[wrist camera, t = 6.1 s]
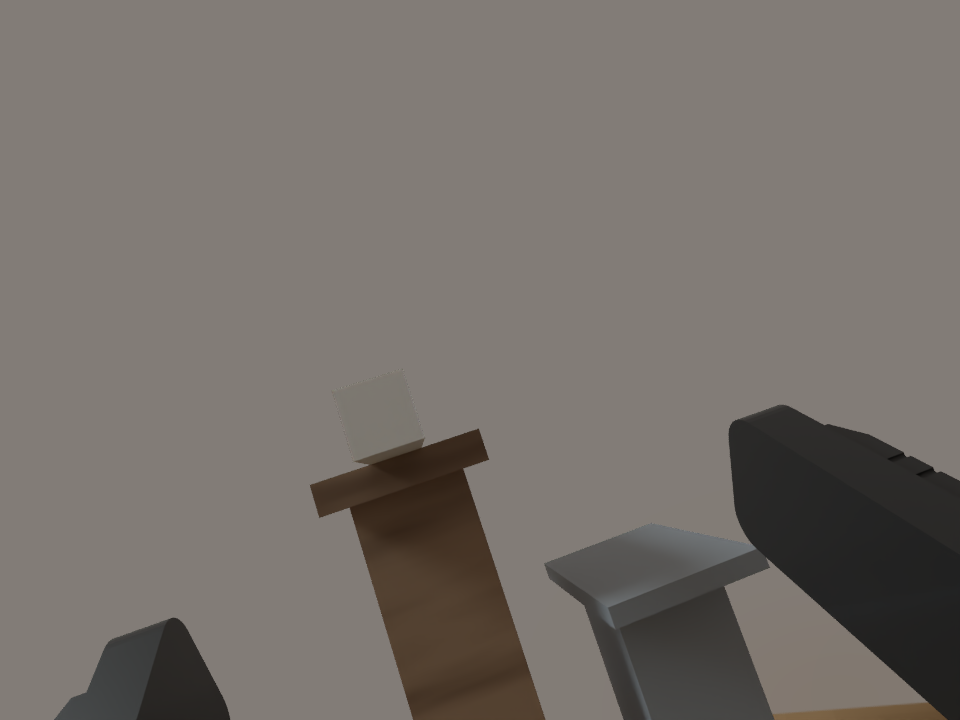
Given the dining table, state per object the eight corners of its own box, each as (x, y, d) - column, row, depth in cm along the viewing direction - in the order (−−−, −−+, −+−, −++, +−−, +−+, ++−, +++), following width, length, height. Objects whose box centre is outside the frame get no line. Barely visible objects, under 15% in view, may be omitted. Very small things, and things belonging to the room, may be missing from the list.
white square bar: (430, 435, 20) (404, 355, 21) (347, 463, 20) (321, 381, 20) (421, 454, 42) (408, 415, 42) (381, 468, 42) (368, 428, 42)
